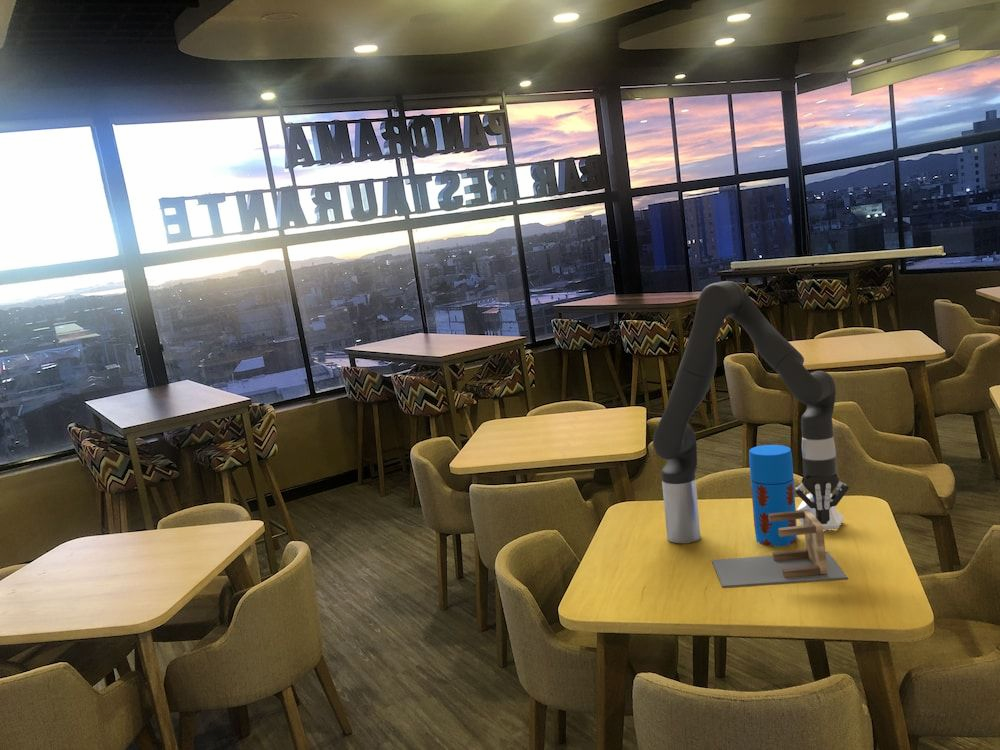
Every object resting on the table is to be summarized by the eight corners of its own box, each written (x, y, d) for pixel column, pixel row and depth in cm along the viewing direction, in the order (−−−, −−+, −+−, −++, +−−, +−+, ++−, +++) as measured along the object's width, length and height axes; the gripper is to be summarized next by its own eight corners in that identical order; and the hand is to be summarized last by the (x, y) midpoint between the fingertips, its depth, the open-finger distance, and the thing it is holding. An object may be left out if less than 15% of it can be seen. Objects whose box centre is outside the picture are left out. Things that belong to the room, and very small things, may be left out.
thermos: (784, 549, 211) (777, 457, 207) (747, 541, 219) (740, 452, 215) (804, 536, 218) (799, 447, 214) (769, 529, 226) (762, 442, 222)
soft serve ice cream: (848, 522, 228) (858, 478, 223) (830, 544, 217) (840, 499, 212) (804, 506, 236) (813, 463, 230) (785, 527, 225) (793, 483, 219)
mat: (711, 561, 209) (711, 559, 209) (827, 552, 205) (827, 551, 205) (722, 587, 193) (722, 585, 193) (847, 578, 190) (847, 577, 190)
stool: (773, 558, 205) (768, 513, 203) (813, 554, 204) (808, 509, 202) (784, 577, 193) (779, 530, 192) (827, 573, 192) (822, 525, 190)
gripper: (842, 448, 197) (846, 515, 199) (786, 453, 198) (791, 520, 201) (852, 456, 189) (856, 526, 192) (794, 461, 191) (799, 530, 193)
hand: (823, 523), depth 196 cm, fingers closed
